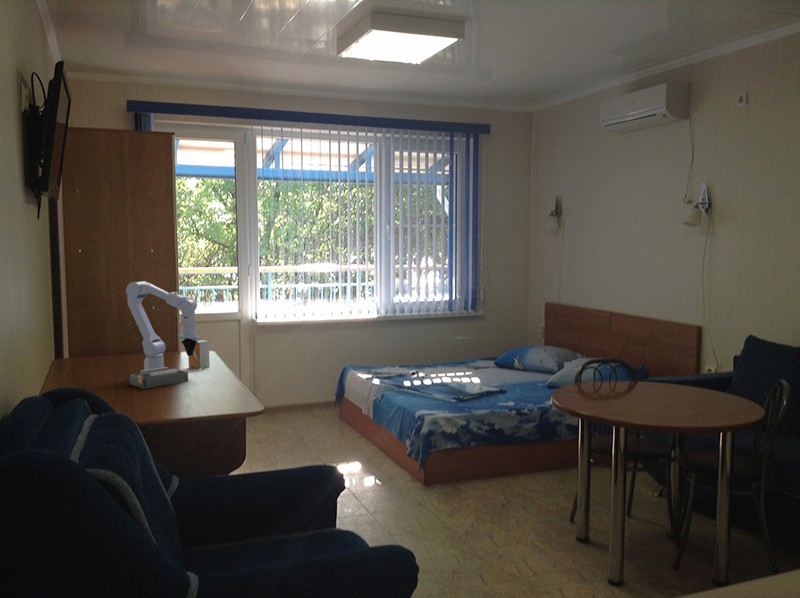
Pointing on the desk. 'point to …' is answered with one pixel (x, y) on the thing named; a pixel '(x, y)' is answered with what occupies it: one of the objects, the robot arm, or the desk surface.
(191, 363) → the small box
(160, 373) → the panel
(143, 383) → the rack
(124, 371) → the desk surface
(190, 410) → the desk surface
